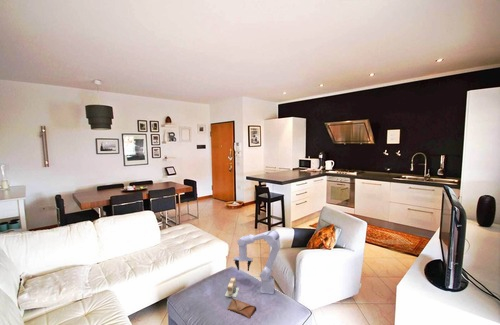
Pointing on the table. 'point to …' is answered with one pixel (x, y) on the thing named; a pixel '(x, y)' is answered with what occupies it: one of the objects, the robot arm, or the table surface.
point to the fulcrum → (232, 293)
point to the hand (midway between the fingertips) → (243, 270)
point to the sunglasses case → (242, 308)
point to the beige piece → (231, 285)
